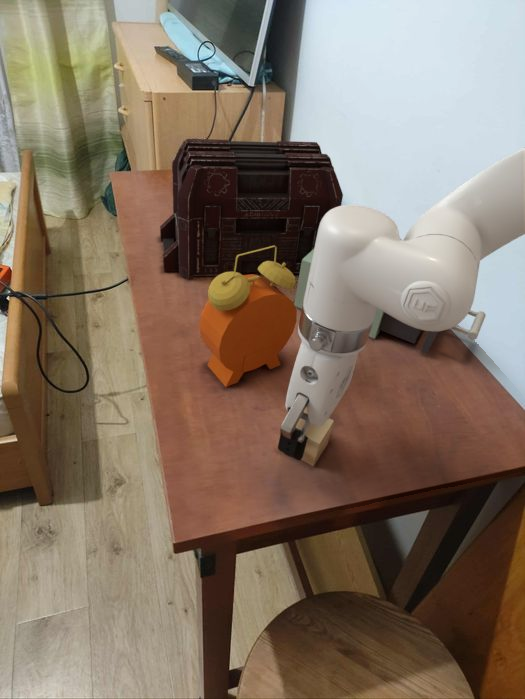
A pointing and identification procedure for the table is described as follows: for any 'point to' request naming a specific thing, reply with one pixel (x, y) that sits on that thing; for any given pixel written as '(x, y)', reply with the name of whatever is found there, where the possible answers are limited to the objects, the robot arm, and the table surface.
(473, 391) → the table surface
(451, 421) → the table surface
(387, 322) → the drawer
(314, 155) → the crate
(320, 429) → the block
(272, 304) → the alarm clock
